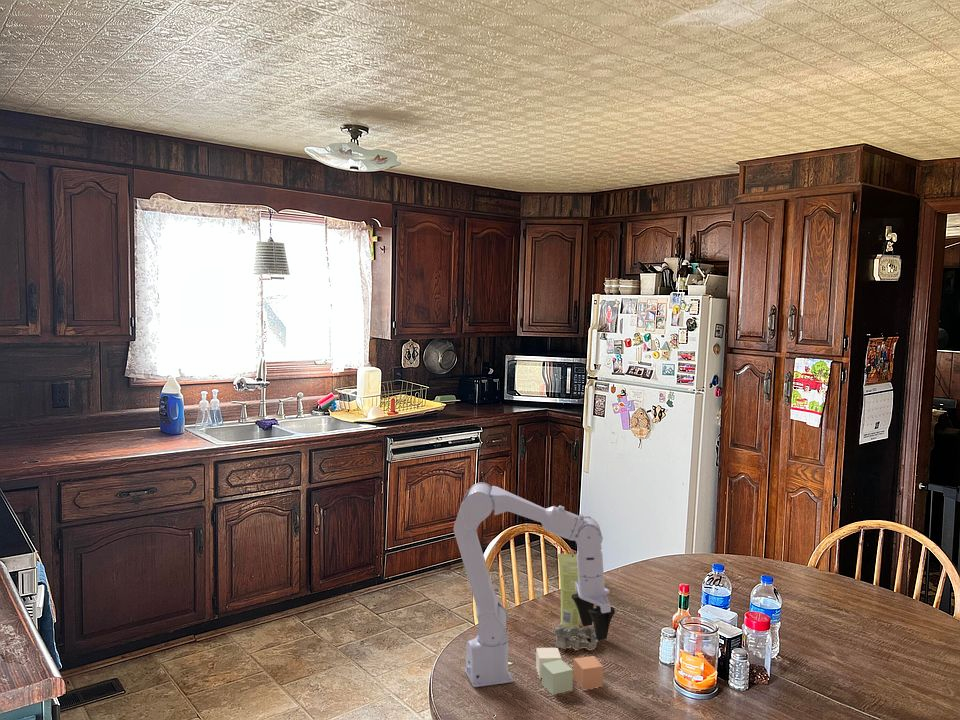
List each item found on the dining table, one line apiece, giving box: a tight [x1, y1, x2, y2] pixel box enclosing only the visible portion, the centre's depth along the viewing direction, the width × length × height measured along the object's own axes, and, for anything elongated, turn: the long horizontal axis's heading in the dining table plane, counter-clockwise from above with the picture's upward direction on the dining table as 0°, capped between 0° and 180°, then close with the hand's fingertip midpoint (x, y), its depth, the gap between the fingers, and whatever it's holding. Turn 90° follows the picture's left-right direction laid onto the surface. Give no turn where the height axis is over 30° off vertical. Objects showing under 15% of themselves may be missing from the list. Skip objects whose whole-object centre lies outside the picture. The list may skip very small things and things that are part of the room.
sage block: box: [541, 659, 574, 696], centre depth 160 cm, size 5×5×5 cm
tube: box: [557, 553, 581, 627], centre depth 192 cm, size 6×5×20 cm
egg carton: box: [553, 625, 599, 649], centre depth 182 cm, size 11×8×4 cm
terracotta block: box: [572, 655, 604, 690], centre depth 162 cm, size 5×5×5 cm
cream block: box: [535, 647, 562, 679], centre depth 167 cm, size 5×5×5 cm
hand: (594, 632), depth 163 cm, fingers open, 7 cm apart
